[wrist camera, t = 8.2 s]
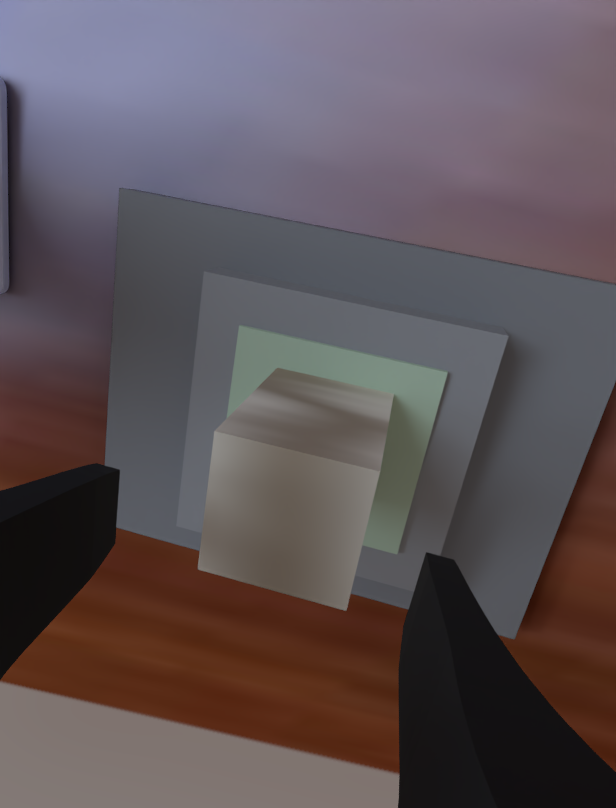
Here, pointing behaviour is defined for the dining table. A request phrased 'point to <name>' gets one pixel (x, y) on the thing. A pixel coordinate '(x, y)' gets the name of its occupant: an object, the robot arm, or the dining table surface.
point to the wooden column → (295, 486)
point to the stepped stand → (361, 382)
